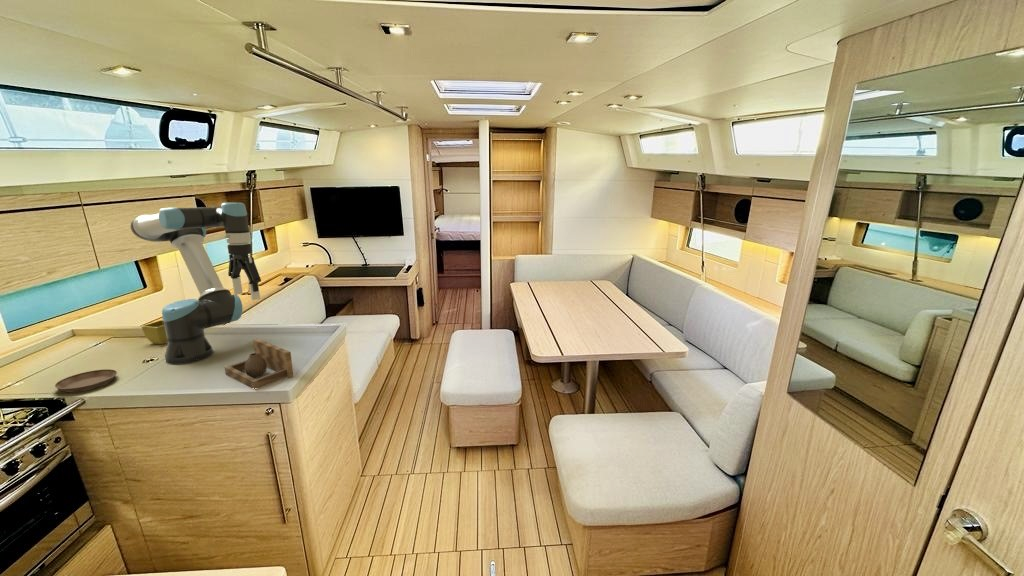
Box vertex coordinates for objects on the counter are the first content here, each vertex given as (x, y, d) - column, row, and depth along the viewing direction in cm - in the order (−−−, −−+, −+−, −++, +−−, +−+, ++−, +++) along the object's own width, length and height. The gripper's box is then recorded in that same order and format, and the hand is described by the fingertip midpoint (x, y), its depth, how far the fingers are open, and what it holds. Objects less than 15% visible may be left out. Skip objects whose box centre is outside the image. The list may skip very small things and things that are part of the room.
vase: (257, 380, 140) (253, 358, 137) (241, 378, 141) (237, 356, 139) (272, 372, 146) (269, 351, 144) (256, 370, 147) (253, 349, 145)
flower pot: (144, 345, 168) (140, 325, 166) (165, 337, 176) (161, 319, 174) (161, 346, 167) (157, 327, 165) (181, 339, 175) (177, 321, 173)
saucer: (115, 371, 144) (114, 365, 144) (121, 384, 135) (119, 377, 134) (56, 385, 133) (54, 378, 132) (57, 400, 124) (55, 393, 123)
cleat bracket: (223, 373, 144) (219, 349, 142) (260, 361, 155) (256, 338, 153) (256, 390, 132) (252, 364, 130) (293, 376, 143) (290, 351, 141)
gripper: (212, 241, 149) (221, 293, 154) (244, 247, 137) (253, 304, 142) (234, 240, 155) (241, 290, 160) (266, 245, 143) (273, 299, 148)
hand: (247, 296), depth 151 cm, fingers open, 13 cm apart
